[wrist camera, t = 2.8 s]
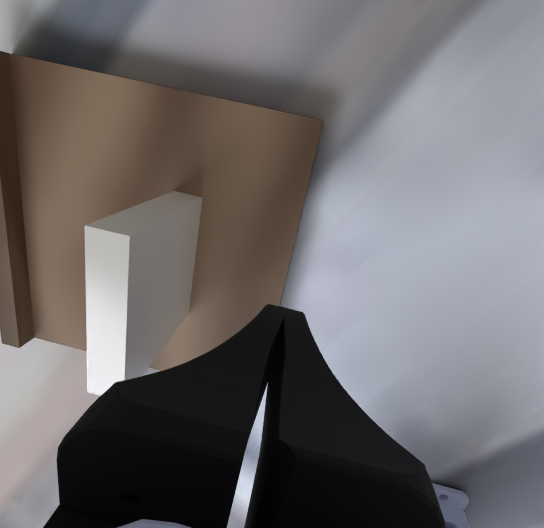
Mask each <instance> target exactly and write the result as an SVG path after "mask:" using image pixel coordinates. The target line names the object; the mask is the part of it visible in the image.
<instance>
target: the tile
mask: <svg viewBox="0 0 544 528" xmlns="http://www.w3.org/2000/svg"><path fill="white" fill-rule="evenodd" d="M201 205H202V197H198V196H194V195H190V194H185V193H181V192H177V191H172V192H170V193H167V194H165V195H162V196H159V197H157V198H154V199H152V200H149V201H146V202H144V203H141V204H139V205H136V206H134V207H131V208H128V209H126V210H123V211H121V212H118V213H115V214H113V215H110V216H108V217H105V218H102V219H100V220H97V221H95V222H92V223H90V224H87V225H85V279H86V335H87V391H88V393H92V394H96V395H99V396H101V395H102V394H103V393H105V392H106V391H107V390H108V389H109V388H110V387H111V386H112V385H113V384H114V383H115V382H119V381H124V380H128V379H132V378H137V377H141V376H143V375H144V374H145V372H146V371H147V370H148V368H149V367H150V366H151V364H152V363H153V362H154V360H155V359H156V358H157V356H158V355H159V354H160V352H161V351H162V349H163V348H164V347H165V345H166V344H167V343H168V341H169V340H170V339H171V337H172V336H173V335H174V333H175V332H176V330H177V329H178V328H179V326H180V325H181V324H182V322H183V321H184V320H185V318H186V317H187V316H188V314H189V306H190V298H191V290H192V281H193V273H194V264H195V256H196V248H197V239H198V231H199V222H200V214H201Z"/></svg>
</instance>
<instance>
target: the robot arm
mask: <svg viewBox="0 0 544 528" xmlns="http://www.w3.org/2000/svg"><path fill="white" fill-rule="evenodd" d="M267 383H268V387H267V396H266V405H265V414H264V423H263V432H262V441H261V448H260V454H259V459H258V464H257V469H256V474H255V479H254V484H253V489H252V493H251V498H250V503H249V508H248V513H247V518H246V522H245V527H244V528H470V525H469V522H468V520H467V517H466V514H465V512H464V509H465V508H466V506H467V505H468V503H469V500H468V497H467V495H466V493H465V492H463V491H460V490H456V489H453V488H449V487H445V486H441V485H438V484H434V483H432V482H431V480H430V478H429V475H428V473H427V470H426V468H425V465H424V464H423V463H422V462H421V461H419V460H418V459H417V458H416V457H415V456H413V455H412V454H411V453H410V452H408V451H407V450H406V449H405V448H403V447H402V446H401V445H400V444H398V443H397V442H396V441H395V440H393V439H392V438H391V437H390V436H389V435H388V434H387V433H386V432H385V431H383V430H382V429H381V428H380V427H379V426H378V425H377V424H376V423H375V422H374V421H373V420H372V419H371V418H370V417H369V416H368V415H367V414H366V413H365V412H364V411H363V410H362V409H361V408H360V407H359V406H358V404H357V403H356V402H355V401H354V400H353V399H352V398H351V397H350V395H349V394H348V393H347V392H346V391H345V389H344V388H343V387H342V385H341V384H340V383H339V381H338V380H337V379H336V377H335V376H334V375H333V373H332V371H331V370H330V368H329V367H328V365H327V363H326V361H325V360H324V358H323V356H322V354H321V352H320V351H319V348H318V346H317V344H316V342H315V340H314V338H313V336H312V333H311V331H310V328H309V326H308V323H307V320H306V317H305V315H304V313H303V312H300V311H296V310H292V309H288V308H284V307H280V306H276V305H272V304H267V305H265V306H264V308H263V309H262V310H261V311H260V312H259V314H258V315H257V316H256V317H255V318H254V319H253V320H251V321H250V322H249V323H248V324H247V325H246V326H245V327H244V328H242V329H241V330H240V331H239V332H237V333H236V334H235V335H233V336H232V337H231V338H229V339H228V340H226V341H225V342H223V343H222V344H220V345H219V346H217V347H215V348H214V349H212V350H210V351H209V352H207V353H205V354H203V355H201V356H199V357H197V358H194V359H192V360H190V361H188V362H186V363H183V364H180V365H178V366H175V367H172V368H169V369H166V370H163V371H160V372H156V373H153V374H149V375H145V376H141V377H137V378H132V379H128V380H124V381H119V382H115V383H114V384H113V385H112V386H111V387H110V388H109V389H108V390H107V391H106V392H105V393H103V394H102V395H101V396H100V397H99V398H98V399H97V400H96V401H95V402H94V403H93V404H92V405H91V406H90V407H89V408H88V410H87V411H86V412H85V413H84V414H83V415H82V417H81V418H80V419H79V420H78V421H77V423H76V424H75V425H74V426H73V427H72V428H71V430H70V431H69V432H68V433H67V434H66V435H65V437H64V438H63V440H62V442H61V444H60V445H59V447H58V454H57V471H58V486H59V500H60V505H59V506H58V507H57V509H56V510H55V512H54V513H53V515H52V516H51V517H50V519H49V520H48V522H47V523H46V524H45V526H44V527H43V528H227V524H228V519H229V515H230V511H231V507H232V503H233V499H234V495H235V490H236V486H237V482H238V478H239V474H240V470H241V466H242V462H243V457H244V453H245V449H246V446H247V443H248V439H249V436H250V433H251V430H252V427H253V424H254V421H255V418H256V415H257V412H258V409H259V406H260V404H261V401H262V398H263V395H264V392H265V389H266V386H267Z"/></svg>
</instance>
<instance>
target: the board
mask: <svg viewBox="0 0 544 528" xmlns="http://www.w3.org/2000/svg"><path fill="white" fill-rule="evenodd" d="M322 125H323V120H319V119H314V118H310V117H305V116H300V115H296V114H291V113H286V112H282V111H277V110H272V109H268V108H263V107H258V106H254V105H249V104H244V103H239V102H235V101H230V100H225V99H221V98H216V97H211V96H207V95H202V94H197V93H193V92H188V91H183V90H179V89H174V88H169V87H165V86H160V85H155V84H150V83H146V82H141V81H136V80H132V79H127V78H122V77H118V76H113V75H108V74H104V73H99V72H94V71H90V70H85V69H80V68H76V67H71V66H66V65H62V64H57V63H52V62H47V61H43V60H38V59H33V58H29V57H24V56H19V55H15V54H10V53H6V52H2V51H0V331H1V339H2V343H3V344H7V345H10V346H14V347H18V348H20V347H21V346H23V345H24V344H26V343H27V342H29V341H30V340H31V339H33V338H38V339H42V340H46V341H50V342H54V343H57V344H61V345H65V346H69V347H73V348H77V349H80V350H84V351H87V335H86V279H85V225H87V224H90V223H92V222H95V221H97V220H100V219H102V218H105V217H108V216H110V215H113V214H115V213H118V212H121V211H123V210H126V209H128V208H131V207H134V206H136V205H139V204H141V203H144V202H146V201H149V200H152V199H154V198H157V197H159V196H162V195H165V194H167V193H170V192H172V191H177V192H181V193H185V194H190V195H194V196H198V197H202V205H201V214H200V222H199V231H198V239H197V248H196V256H195V264H194V273H193V281H192V290H191V298H190V306H189V314H188V316H187V317H186V318H185V320H184V321H183V322H182V324H181V325H180V326H179V328H178V329H177V330H176V332H175V333H174V335H173V336H172V337H171V339H170V340H169V341H168V343H167V344H166V345H165V347H164V348H163V349H162V351H161V352H160V354H159V355H158V356H157V358H156V359H155V360H154V362H153V363H152V364H151V366H150V367H149V368H153V369H157V370H161V371H163V370H166V369H169V368H172V367H175V366H178V365H180V364H183V363H186V362H188V361H190V360H192V359H194V358H197V357H199V356H201V355H203V354H205V353H207V352H209V351H210V350H212V349H214V348H215V347H217V346H219V345H220V344H222V343H223V342H225V341H226V340H228V339H229V338H231V337H232V336H233V335H235V334H236V333H237V332H239V331H240V330H241V329H242V328H244V327H245V326H246V325H247V324H248V323H249V322H250V321H251V320H253V319H254V318H255V317H256V316H257V315H258V314H259V312H260V311H261V310H262V309H263V308H264V306H265V305H267V304H272V305H276V306H280V302H281V297H282V293H283V289H284V285H285V281H286V276H287V272H288V268H289V264H290V260H291V255H292V251H293V247H294V243H295V239H296V234H297V230H298V226H299V222H300V218H301V213H302V209H303V205H304V201H305V196H306V192H307V188H308V184H309V180H310V175H311V171H312V167H313V163H314V159H315V154H316V150H317V146H318V142H319V138H320V133H321V129H322Z"/></svg>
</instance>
